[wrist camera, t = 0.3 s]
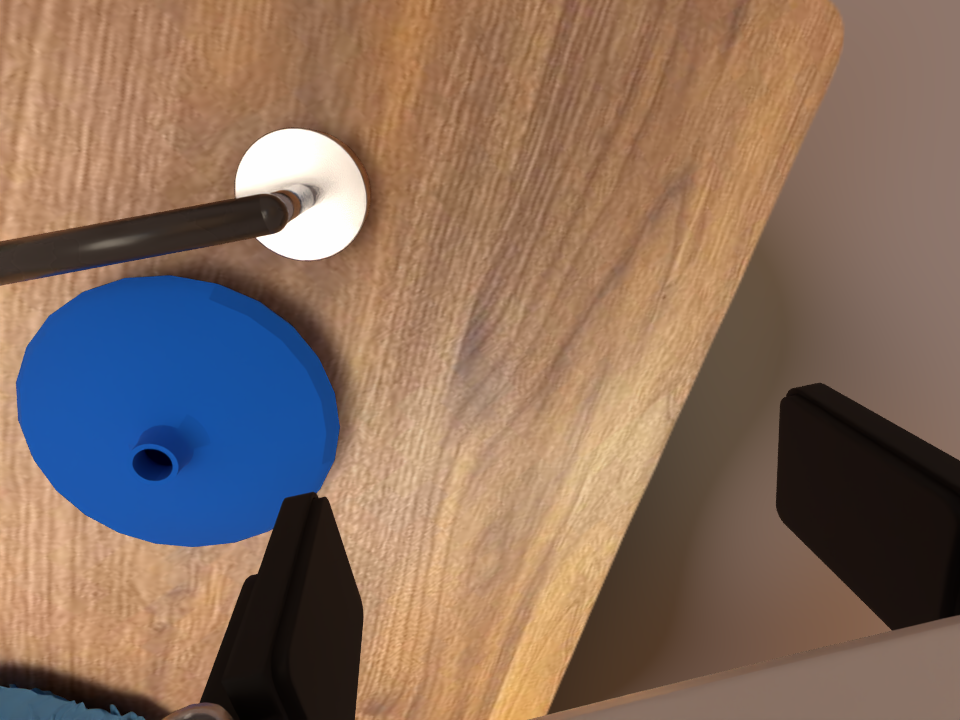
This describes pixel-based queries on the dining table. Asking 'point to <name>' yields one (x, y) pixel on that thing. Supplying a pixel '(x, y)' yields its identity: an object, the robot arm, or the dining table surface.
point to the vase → (176, 410)
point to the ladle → (225, 213)
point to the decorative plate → (50, 707)
